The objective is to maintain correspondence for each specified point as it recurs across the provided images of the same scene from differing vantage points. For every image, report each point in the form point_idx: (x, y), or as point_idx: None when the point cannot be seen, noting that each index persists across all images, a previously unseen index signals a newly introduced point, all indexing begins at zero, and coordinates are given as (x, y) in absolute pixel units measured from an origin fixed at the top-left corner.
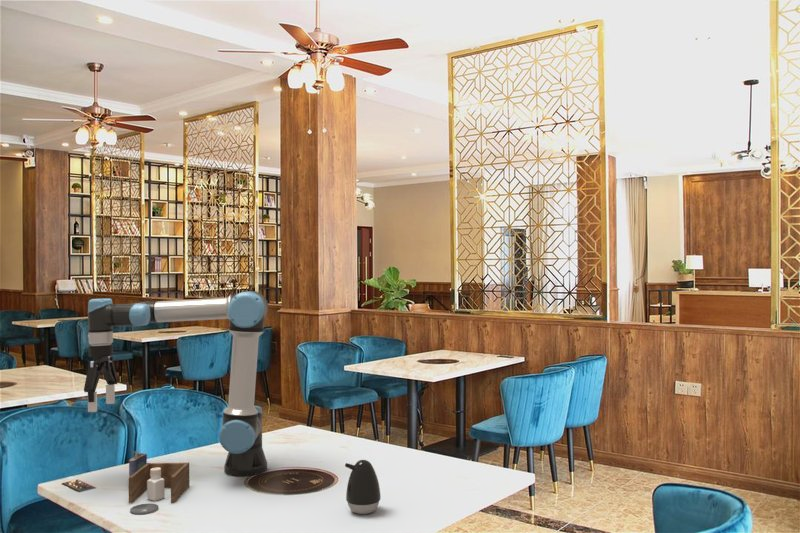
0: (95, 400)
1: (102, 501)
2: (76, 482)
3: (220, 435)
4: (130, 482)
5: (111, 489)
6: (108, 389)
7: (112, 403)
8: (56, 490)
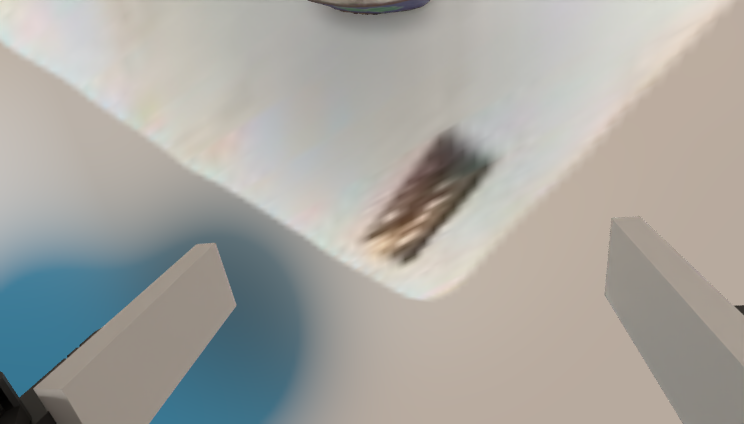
0: (719, 298)
1: (618, 6)
2: (395, 226)
3: None
4: None
5: (465, 58)
6: (141, 393)
7: (217, 256)
8: (480, 243)
